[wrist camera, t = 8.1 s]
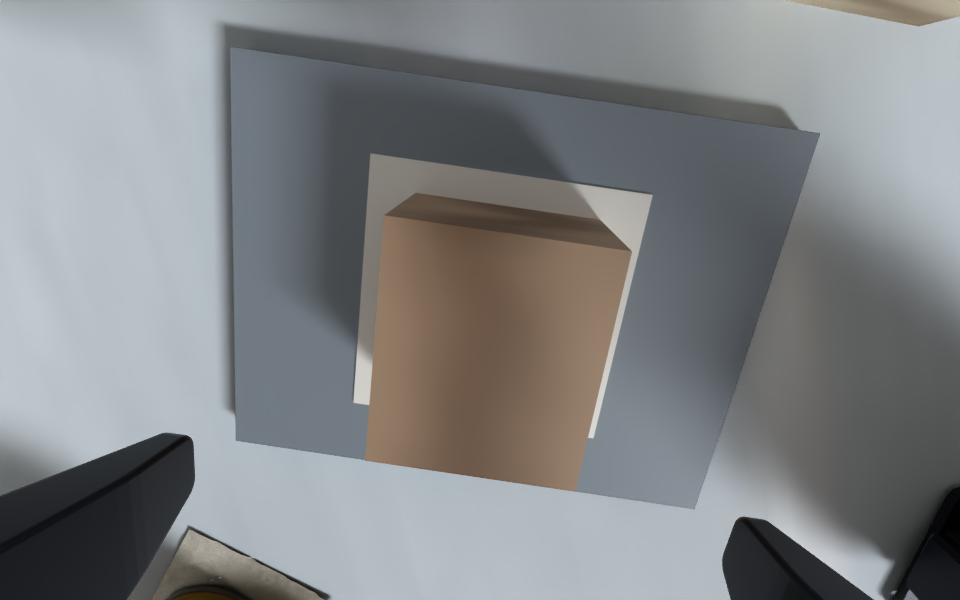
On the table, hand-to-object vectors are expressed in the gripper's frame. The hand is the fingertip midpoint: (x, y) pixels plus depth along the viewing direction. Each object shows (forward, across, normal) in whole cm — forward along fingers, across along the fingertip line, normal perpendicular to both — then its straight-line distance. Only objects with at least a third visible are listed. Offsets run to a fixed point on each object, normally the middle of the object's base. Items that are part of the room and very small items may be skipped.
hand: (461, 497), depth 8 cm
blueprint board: (+11, 0, 0) cm, 11 cm away
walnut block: (+10, 0, 0) cm, 10 cm away
